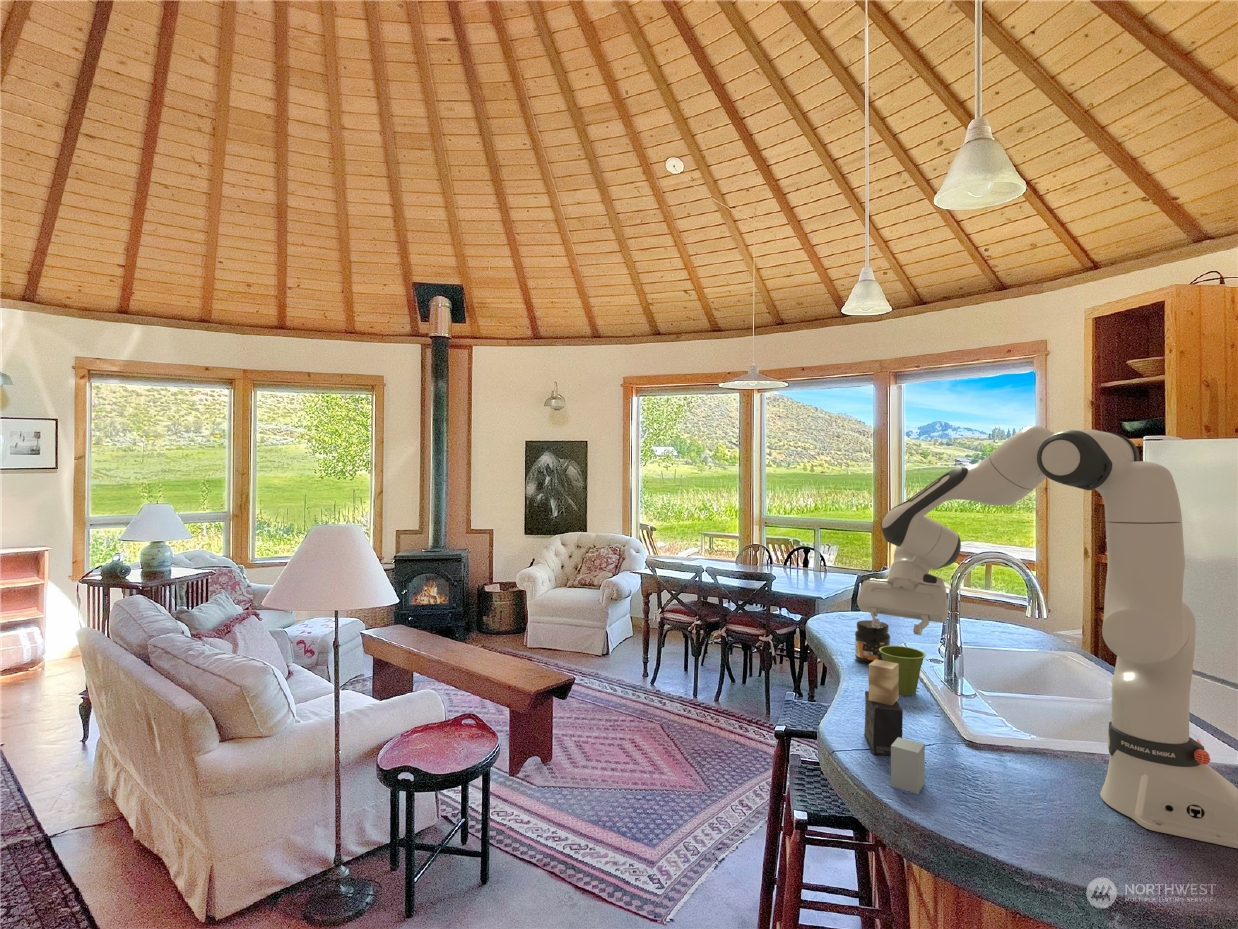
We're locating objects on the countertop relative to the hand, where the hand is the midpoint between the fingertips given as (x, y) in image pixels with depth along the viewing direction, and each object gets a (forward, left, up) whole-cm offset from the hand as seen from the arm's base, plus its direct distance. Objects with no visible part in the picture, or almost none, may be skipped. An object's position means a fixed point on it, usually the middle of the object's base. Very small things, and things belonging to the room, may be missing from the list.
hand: (895, 630), depth 150 cm
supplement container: (+21, -51, -24) cm, 60 cm away
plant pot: (+6, -28, -24) cm, 38 cm away
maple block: (0, +10, -14) cm, 17 cm away
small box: (0, +10, -24) cm, 26 cm away
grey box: (-9, +25, -24) cm, 36 cm away
